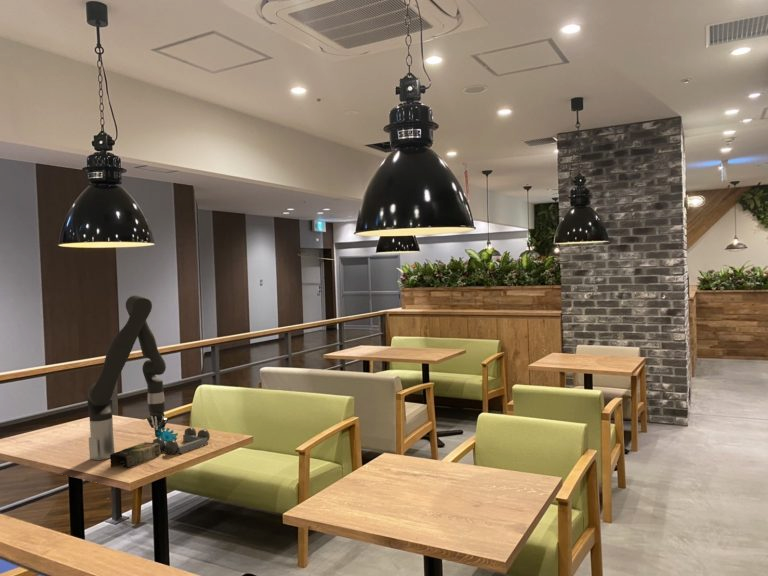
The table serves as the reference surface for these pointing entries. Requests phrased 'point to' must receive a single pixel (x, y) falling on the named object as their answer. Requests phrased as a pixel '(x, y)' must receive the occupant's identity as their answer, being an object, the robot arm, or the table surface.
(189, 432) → the chassis bay
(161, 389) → the robot arm
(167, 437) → the gear
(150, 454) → the dark green hollow block
